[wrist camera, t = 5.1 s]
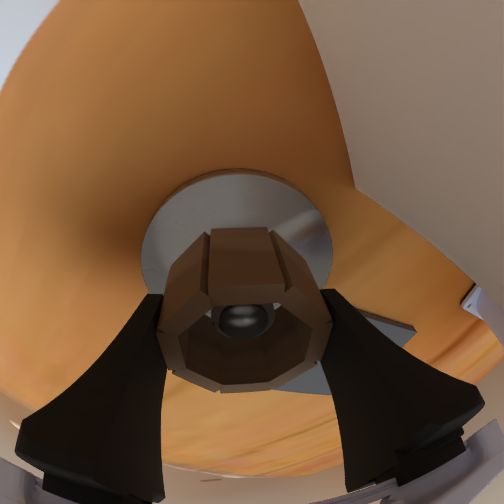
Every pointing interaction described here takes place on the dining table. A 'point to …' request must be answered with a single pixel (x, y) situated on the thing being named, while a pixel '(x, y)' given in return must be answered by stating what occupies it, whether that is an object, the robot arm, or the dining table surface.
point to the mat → (315, 377)
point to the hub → (235, 216)
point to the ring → (241, 293)
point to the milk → (424, 117)
